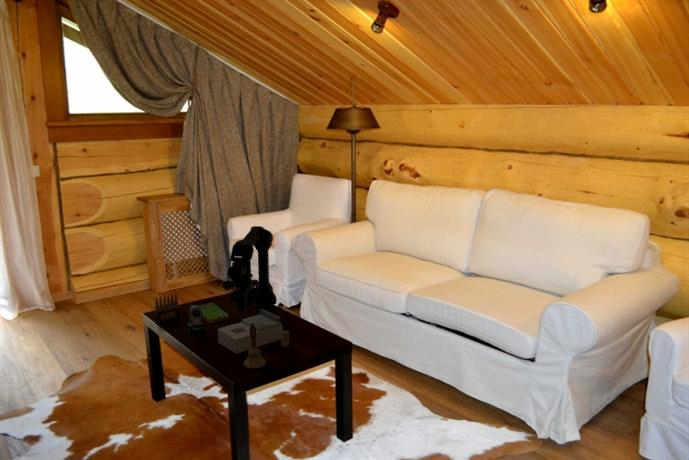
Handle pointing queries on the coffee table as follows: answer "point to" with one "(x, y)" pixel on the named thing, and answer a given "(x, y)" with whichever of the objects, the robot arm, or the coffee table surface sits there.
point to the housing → (246, 337)
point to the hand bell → (254, 352)
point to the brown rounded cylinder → (285, 338)
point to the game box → (212, 313)
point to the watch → (195, 320)
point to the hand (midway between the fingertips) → (245, 309)
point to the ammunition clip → (166, 309)
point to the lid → (263, 320)
